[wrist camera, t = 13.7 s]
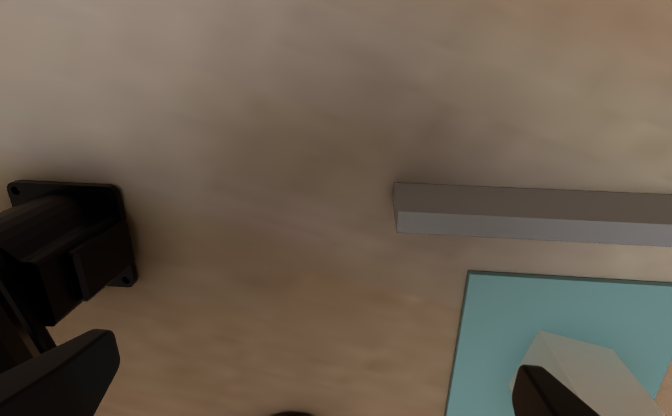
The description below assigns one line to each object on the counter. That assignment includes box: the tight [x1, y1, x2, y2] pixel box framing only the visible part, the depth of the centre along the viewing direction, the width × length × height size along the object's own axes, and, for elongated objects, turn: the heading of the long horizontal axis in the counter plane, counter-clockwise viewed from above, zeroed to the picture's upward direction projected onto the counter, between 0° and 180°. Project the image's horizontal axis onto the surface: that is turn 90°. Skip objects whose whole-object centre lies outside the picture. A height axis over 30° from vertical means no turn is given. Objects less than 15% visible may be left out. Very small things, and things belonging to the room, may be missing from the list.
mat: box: [445, 271, 672, 416], centre depth 23 cm, size 12×12×1 cm
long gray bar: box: [393, 183, 672, 247], centre depth 18 cm, size 15×1×4 cm, turn 89°
